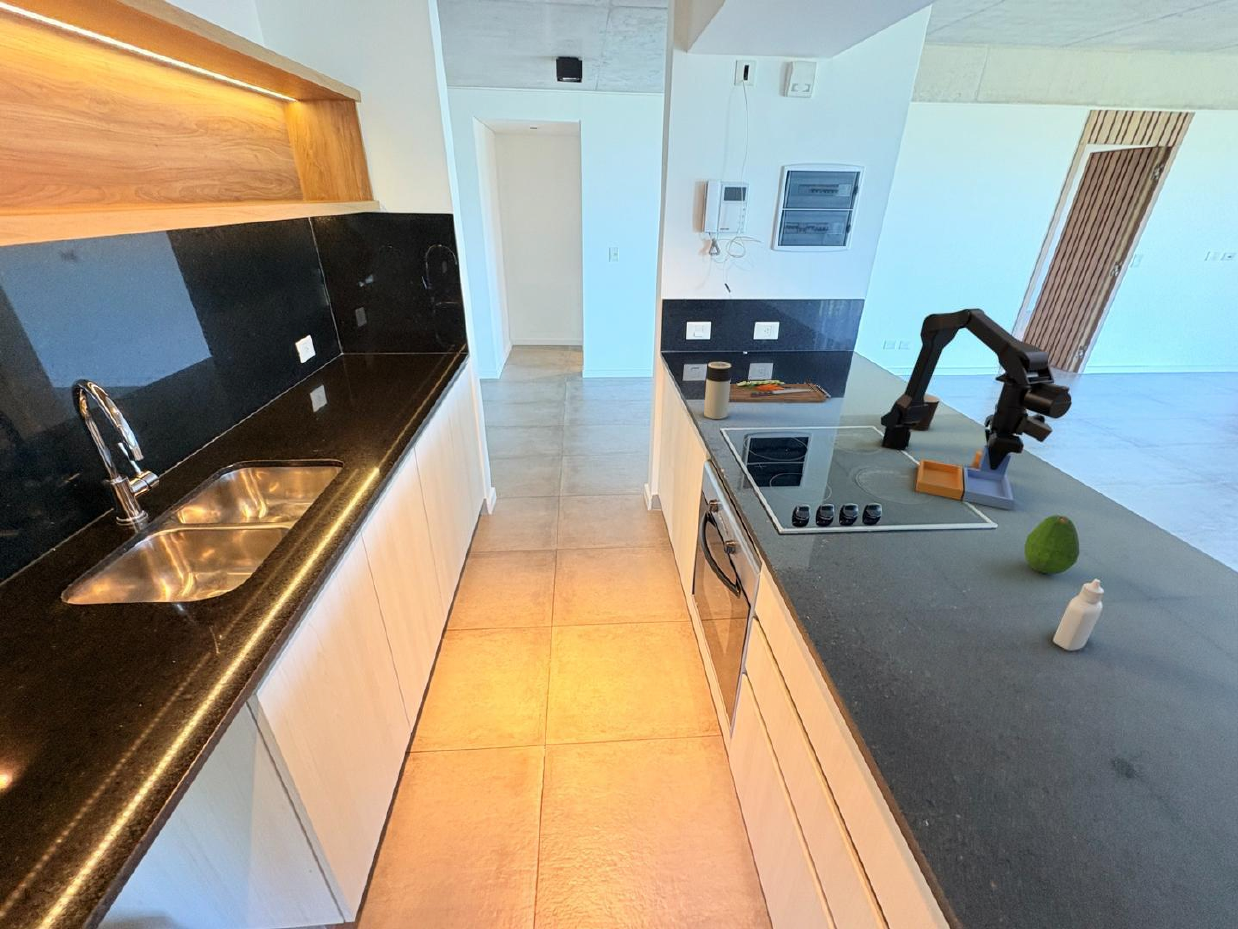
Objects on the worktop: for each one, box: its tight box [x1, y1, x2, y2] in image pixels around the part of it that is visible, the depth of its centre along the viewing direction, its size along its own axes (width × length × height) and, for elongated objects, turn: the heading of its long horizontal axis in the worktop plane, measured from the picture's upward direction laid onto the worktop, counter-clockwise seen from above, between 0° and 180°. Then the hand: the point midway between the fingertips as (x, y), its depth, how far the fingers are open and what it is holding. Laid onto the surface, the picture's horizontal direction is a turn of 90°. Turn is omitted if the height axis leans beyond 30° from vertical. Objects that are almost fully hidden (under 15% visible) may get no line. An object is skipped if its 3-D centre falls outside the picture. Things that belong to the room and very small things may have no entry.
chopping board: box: [729, 380, 832, 404], centre depth 207 cm, size 45×27×3 cm, turn 88°
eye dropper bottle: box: [1053, 578, 1105, 652], centre depth 82 cm, size 4×6×12 cm
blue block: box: [979, 444, 1012, 475], centre depth 127 cm, size 5×5×5 cm
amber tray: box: [915, 458, 963, 501], centre depth 135 cm, size 10×16×3 cm, turn 150°
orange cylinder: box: [971, 449, 983, 470], centre depth 141 cm, size 5×5×5 cm
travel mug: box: [703, 361, 732, 420], centre depth 178 cm, size 8×8×18 cm
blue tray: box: [961, 466, 1015, 511], centre depth 130 cm, size 10×16×3 cm, turn 150°
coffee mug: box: [910, 393, 941, 432], centre depth 171 cm, size 12×9×10 cm
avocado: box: [1024, 514, 1080, 574], centre depth 99 cm, size 8×8×12 cm
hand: (992, 465), depth 128 cm, fingers closed on blue block, 5 cm apart
